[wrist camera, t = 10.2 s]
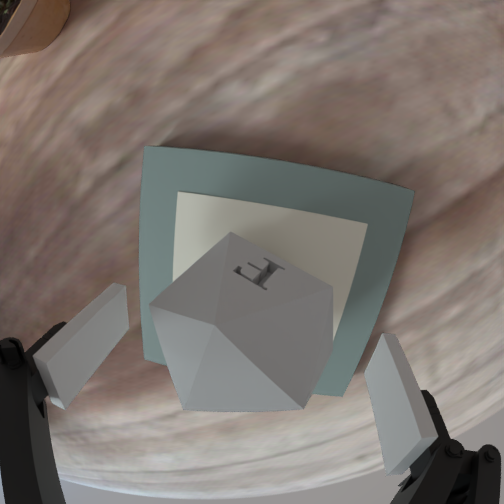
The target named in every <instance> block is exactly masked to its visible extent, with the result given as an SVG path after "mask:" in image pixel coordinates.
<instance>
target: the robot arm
mask: <svg viewBox="0 0 504 504" xmlns="http://www.w3.org/2000/svg"><path fill="white" fill-rule="evenodd" d="M128 330H129V321H128V309H127V295H126V286H125V285H121V284H118V283H113V284H111V285H110V286H109V287H108V288H107V289H106V290H104V291H103V292H102V293H101V294H100V295H99V296H97V297H96V298H95V299H94V300H93V301H92V302H90V303H89V304H88V305H87V306H86V307H85V308H84V309H83V310H81V311H80V312H79V313H78V314H77V315H76V316H75V317H74V318H73V319H71V320H70V321H69V322H68V323H66V322H61V323H59V324H57V325H55V326H53V327H52V328H51V329H50V330H49V331H48V332H47V333H46V334H44V335H43V336H42V338H40V339H39V340H38V341H37V342H36V343H35V344H34V345H32V346H31V347H30V348H29V349H28V350H27V351H26V352H24V349H23V346H22V344H21V342H20V341H19V340H18V339H16V338H10V337H9V338H5V339H3V340H1V341H0V470H1V478H2V486H3V492H4V498H5V504H66V502H65V499H64V495H63V492H62V489H61V485H60V481H59V477H58V473H57V468H56V464H55V459H54V454H53V449H52V443H51V438H50V431H49V424H48V417H47V408H46V402H45V400H44V399H45V398H46V396H47V395H49V397H50V400H51V402H52V403H53V404H55V405H56V406H58V407H60V408H62V409H64V410H66V409H67V407H68V406H69V405H70V403H71V402H72V401H73V399H74V398H75V397H76V396H77V394H78V393H79V392H80V390H81V389H82V388H83V386H84V385H85V384H86V382H87V381H88V380H89V379H90V377H91V376H92V375H93V373H94V372H95V371H96V370H97V368H98V367H99V366H100V365H101V363H102V362H103V361H104V359H105V358H106V357H107V356H108V354H109V353H110V352H111V351H112V349H113V348H114V347H115V346H116V344H117V343H118V342H119V341H120V340H121V338H122V337H123V336H124V335H125V333H126V332H127V331H128ZM364 375H365V379H366V383H367V387H368V391H369V395H370V399H371V403H372V408H373V412H374V416H375V421H376V425H377V430H378V435H379V440H380V445H381V450H382V455H383V460H384V466H385V471H386V476H388V475H399V474H403V473H404V472H405V471H406V470H407V469H408V468H409V467H410V471H411V474H410V475H409V476H408V477H407V478H406V479H405V480H404V481H403V482H401V483H400V484H399V485H398V486H401V485H402V487H401V488H400V490H399V491H398V493H397V494H396V496H395V497H394V498H393V500H392V501H391V503H390V504H499V498H500V482H501V456H500V453H499V451H498V449H497V448H496V447H494V446H492V445H484V446H482V448H480V449H479V450H478V452H475V451H469V450H464V447H463V446H462V444H461V443H459V442H458V441H457V440H454V439H450V436H449V434H448V431H447V429H446V426H445V424H444V421H443V419H442V416H441V415H440V411H439V409H438V408H437V404H436V402H435V400H434V397H433V396H432V395H431V394H430V393H429V392H428V391H427V390H420V388H419V386H418V383H417V381H416V379H415V376H414V374H413V372H412V370H411V367H410V365H409V363H408V361H407V358H406V356H405V354H404V352H403V350H402V347H401V345H400V343H399V341H398V339H397V337H396V335H395V334H389V333H382V335H381V337H380V339H379V342H378V344H377V346H376V348H375V351H374V353H373V355H372V357H371V360H370V362H369V364H368V366H367V368H366V370H365V372H364Z"/></svg>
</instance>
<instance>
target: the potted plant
mask: <svg viewBox="0 0 504 504" xmlns="http://www.w3.org/2000/svg"><path fill="white" fill-rule="evenodd" d="M69 12H70V2H69V0H0V58H4V57H9V56H15V55H21V54H27V53H34V52H38V51H41V50H43V49H44V48H46V47H47V46H48V45H49V44H50V43H51V42H52V41H53V40H54V39H55V38H56V37H57V35H58V34H59V33H60V31H61V30H62V28H63V26H64V24H65V22H66V20H67V18H68V16H69Z"/></svg>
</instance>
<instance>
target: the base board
mask: <svg viewBox="0 0 504 504" xmlns="http://www.w3.org/2000/svg"><path fill="white" fill-rule="evenodd" d="M414 193H415V191H413V190H410V189H408V188H405V187H402V186H398V185H395V184H391V183H387V182H383V181H379V180H375V179H371V178H367V177H363V176H359V175H354V174H350V173H345V172H341V171H336V170H332V169H327V168H322V167H317V166H312V165H306V164H301V163H295V162H290V161H284V160H278V159H272V158H265V157H259V156H252V155H244V154H237V153H229V152H221V151H212V150H202V149H192V148H181V147H168V146H144V155H143V167H142V180H141V196H140V220H139V286H140V310H141V326H142V339H143V351H144V359H146V360H149V361H152V362H156V363H159V364H163V365H166V366H167V363H166V360H165V357H164V354H163V351H162V348H161V345H160V342H159V339H158V336H157V332H156V329H155V326H154V322H153V319H152V315H151V312H150V308H149V305H148V304H149V303H150V302H152V301H153V300H154V299H155V298H156V297H157V296H158V295H159V294H160V293H161V292H163V291H164V290H165V289H166V288H167V287H168V286H169V285H170V284H171V283H173V282H174V281H175V280H176V279H177V278H178V277H179V276H180V275H181V274H183V273H184V272H185V271H186V270H187V269H188V268H189V267H190V266H192V265H193V264H194V263H195V262H196V261H197V260H198V259H199V258H201V257H202V256H203V255H204V254H205V253H206V252H207V251H209V250H210V249H211V248H212V247H213V246H214V245H215V244H217V243H218V242H219V241H220V240H221V239H222V238H224V237H225V236H226V235H227V234H228V233H229V232H230V231H231V232H233V233H234V234H236V235H238V236H240V237H242V238H244V239H246V240H247V241H249V242H251V243H253V244H255V245H257V246H259V247H261V248H262V249H264V250H266V251H268V252H270V253H272V254H274V255H275V256H277V257H279V258H281V259H283V260H285V261H287V262H288V263H290V264H292V265H294V266H296V267H298V268H299V269H301V270H303V271H305V272H307V273H309V274H311V275H312V276H314V277H316V278H318V279H320V280H322V281H323V282H325V283H327V284H329V285H331V286H333V351H332V353H331V355H330V358H329V360H328V362H327V364H326V366H325V368H324V370H323V372H322V374H321V376H320V379H319V381H318V383H317V385H316V387H315V389H314V391H313V392H312V394H319V395H329V396H341V397H343V395H344V393H345V391H346V389H347V387H348V384H349V382H350V380H351V378H352V376H353V374H354V372H355V370H356V367H357V365H358V363H359V361H360V359H361V356H362V354H363V352H364V349H365V347H366V345H367V342H368V340H369V337H370V335H371V333H372V330H373V328H374V325H375V322H376V320H377V317H378V315H379V312H380V309H381V307H382V304H383V301H384V298H385V295H386V293H387V290H388V287H389V284H390V281H391V278H392V275H393V272H394V268H395V265H396V262H397V259H398V255H399V252H400V249H401V245H402V242H403V238H404V234H405V231H406V227H407V223H408V219H409V215H410V211H411V207H412V202H413V198H414Z"/></svg>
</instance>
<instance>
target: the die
mask: <svg viewBox="0 0 504 504" xmlns="http://www.w3.org/2000/svg"><path fill="white" fill-rule="evenodd" d="M148 305H149V308H150V312H151V315H152V319H153V322H154V326H155V329H156V332H157V336H158V339H159V342H160V345H161V348H162V351H163V354H164V357H165V360H166V363H167V366H168V369H169V372H170V375H171V378H172V381H173V383H174V386H175V389H176V391H177V394H178V397H179V399H180V402H181V405H182V407H183V410H192V411H213V412H265V411H286V410H300V409H304V408H305V406H306V404H307V402H308V400H309V398H310V396H311V394H312V392H313V391H314V389H315V387H316V385H317V383H318V381H319V379H320V376H321V374H322V372H323V370H324V368H325V366H326V364H327V362H328V360H329V358H330V355H331V353H332V351H333V286H331V285H329V284H327V283H325V282H323V281H322V280H320V279H318V278H316V277H314V276H312V275H311V274H309V273H307V272H305V271H303V270H301V269H299V268H298V267H296V266H294V265H292V264H290V263H288V262H287V261H285V260H283V259H281V258H279V257H277V256H275V255H274V254H272V253H270V252H268V251H266V250H264V249H262V248H261V247H259V246H257V245H255V244H253V243H251V242H249V241H247V240H246V239H244V238H242V237H240V236H238V235H236V234H234V233H233V232H231V231H230V232H229V233H228V234H227V235H226V236H225V237H224V238H222V239H221V240H220V241H219V242H218V243H217V244H215V245H214V246H213V247H212V248H211V249H210V250H209V251H207V252H206V253H205V254H204V255H203V256H202V257H201V258H199V259H198V260H197V261H196V262H195V263H194V264H193V265H192V266H190V267H189V268H188V269H187V270H186V271H185V272H184V273H183V274H181V275H180V276H179V277H178V278H177V279H176V280H175V281H174V282H173V283H171V284H170V285H169V286H168V287H167V288H166V289H165V290H164V291H163V292H161V293H160V294H159V295H158V296H157V297H156V298H155V299H154V300H153V301H152V302H150V303H149V304H148Z"/></svg>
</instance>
